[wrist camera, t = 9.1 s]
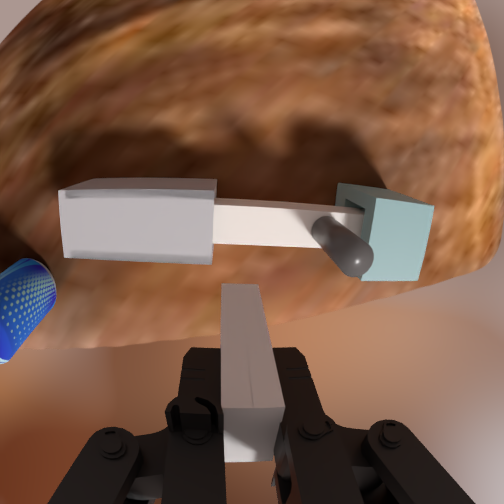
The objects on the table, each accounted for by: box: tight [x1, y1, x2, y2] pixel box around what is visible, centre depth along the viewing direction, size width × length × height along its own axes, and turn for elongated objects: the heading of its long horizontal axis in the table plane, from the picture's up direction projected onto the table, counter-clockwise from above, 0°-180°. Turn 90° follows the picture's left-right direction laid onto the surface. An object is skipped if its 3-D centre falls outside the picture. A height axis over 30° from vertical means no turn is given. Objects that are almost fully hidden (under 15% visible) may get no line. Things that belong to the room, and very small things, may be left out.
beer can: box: [0, 258, 56, 364], centre depth 28 cm, size 8×8×16 cm
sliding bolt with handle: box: [213, 198, 374, 277], centre depth 26 cm, size 4×24×11 cm, turn 86°
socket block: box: [335, 183, 434, 281], centre depth 31 cm, size 8×7×10 cm
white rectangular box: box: [58, 178, 217, 265], centre depth 29 cm, size 7×15×9 cm, turn 86°
